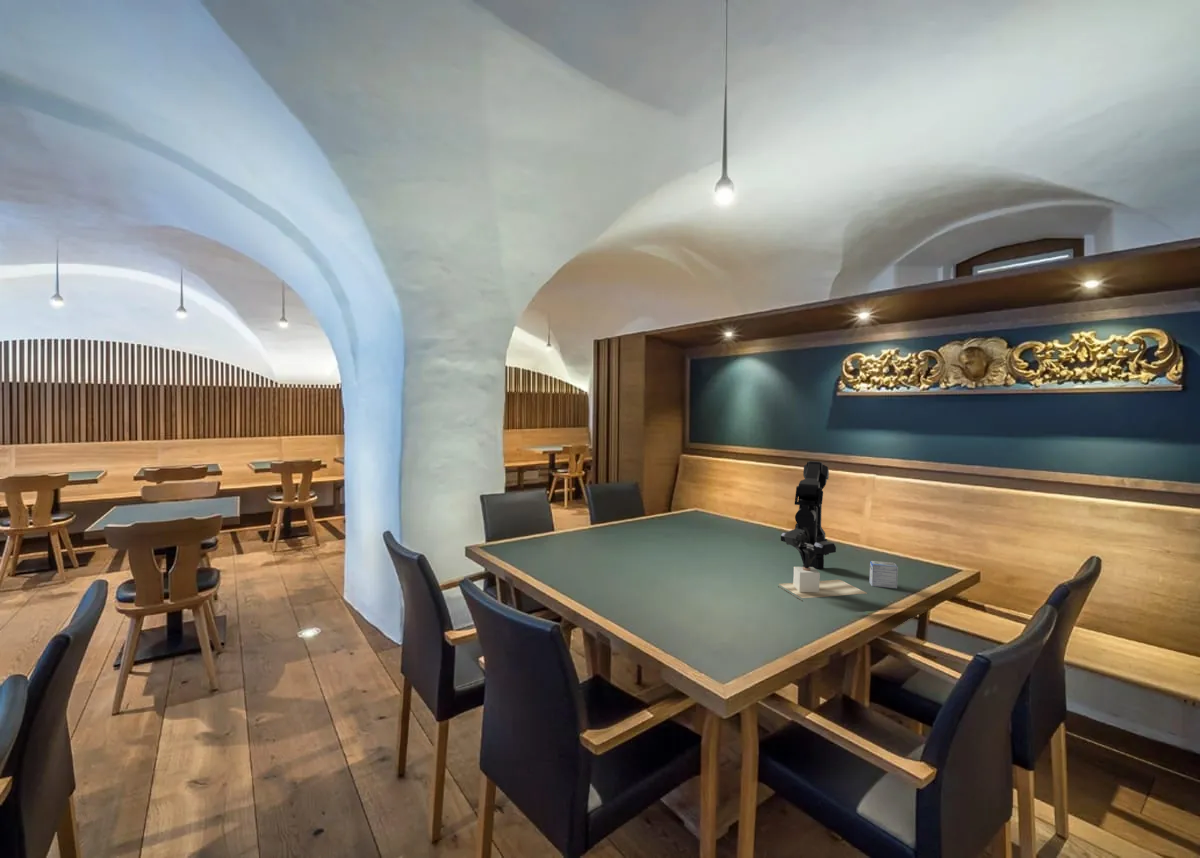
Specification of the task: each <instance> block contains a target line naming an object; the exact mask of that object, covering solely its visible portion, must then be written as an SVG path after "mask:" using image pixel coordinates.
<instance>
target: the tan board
mask: <svg viewBox="0 0 1200 858" xmlns="http://www.w3.org/2000/svg"><path fill="white" fill-rule="evenodd" d="M777 587H778V588H779V589H781V590H783V591H784V592H786V593H787V594H789V595H791V596H792V597H794V598H796V599H798V600H799V601H801V602H803V600H802V599H812V598H813V599H814V598H825V597H838V596H839V597H840V596H848V595H850V596H851V595H864V594H865V595H866V594H867V592H866V591H864V590H862V589H859V588H858V587H856V586H853V585H851V584H849V583H847V582H845V581H844V580H841V579H832V580H831V579H829V580H820V585H819V593H817V592H799V591H798V590H797V589H796V588H795V587H794V586H793V582H785V583H778V586H777ZM792 593H793V594H792Z"/></svg>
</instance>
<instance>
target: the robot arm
mask: <svg viewBox="0 0 1200 858" xmlns="http://www.w3.org/2000/svg"><path fill="white" fill-rule="evenodd" d="M802 475H803V478H804V479H801V480H800V481H799V483H798V485H796V489H795V496H794V505H795V506H798V510H797V511H796V513H795V515H794V520H795V525H794V529H791V530H790V531H785V532H782V533H781V535H780V542H784V543H785V544H786V545H789V546H792V547H793V548H795V549H796V550H797V551H798V553H799V555H800V558H801V561H802V564H803V565H802V567H805V568H809V567H814V568H815V569H816V570H824V569H825V567H824V566H825V559H824V558H825V556H827V555H829V554H834V553H837V545H836V544H835V543H833V542H830V541H828V539H827V538H826V532H825V531H824V528H823V527H822V505H823V499H824V498H823V497H824V491H823V489H824V488H825V486H826V485H827V480H829V478H830V476H829V475H830V471H829V466H827V465H825V464H823V462H822V461H815V460H813V461H812V460H811V461H810V460H809V461H807V462H806V464H804V466H803V473H802Z"/></svg>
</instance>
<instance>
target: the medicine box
mask: <svg viewBox="0 0 1200 858" xmlns="http://www.w3.org/2000/svg"><path fill="white" fill-rule="evenodd" d="M898 574H899V566H898V565H897V564H896V563H895V562H892V561H891V562H890V561H881V560H880V561H877V560H870V562H869V580H868V581H869V584H870V585H871V587H876V588H877V587H879V588H890V589H898V577H899V575H898Z"/></svg>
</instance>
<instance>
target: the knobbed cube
mask: <svg viewBox="0 0 1200 858" xmlns="http://www.w3.org/2000/svg"><path fill="white" fill-rule="evenodd" d="M820 575H821V573H820V571H818V569H815V568H814V567H809V568H805V567H803V566H793V580H792V583H793V586H794V587H795V588H796V589H797V590H798V591H799V592H817V593H819V585H820V581H821V579H820V577H821V576H820Z"/></svg>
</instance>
